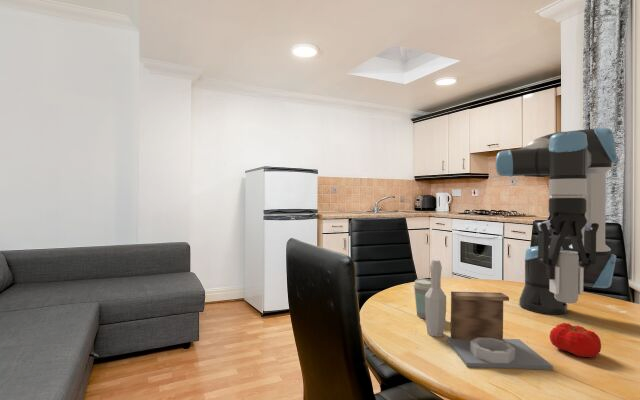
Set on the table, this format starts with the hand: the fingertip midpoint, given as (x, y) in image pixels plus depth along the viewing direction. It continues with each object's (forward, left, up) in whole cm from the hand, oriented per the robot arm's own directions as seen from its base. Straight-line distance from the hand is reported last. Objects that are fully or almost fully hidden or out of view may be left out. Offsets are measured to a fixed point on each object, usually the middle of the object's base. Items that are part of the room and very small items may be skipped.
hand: (566, 292), depth 87 cm
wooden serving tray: (+16, -11, -18) cm, 27 cm away
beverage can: (0, 0, -2) cm, 2 cm away
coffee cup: (+25, -35, -18) cm, 47 cm away
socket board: (+14, -6, -18) cm, 24 cm away
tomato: (-8, -9, -18) cm, 22 cm away
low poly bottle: (+26, -19, -18) cm, 37 cm away
